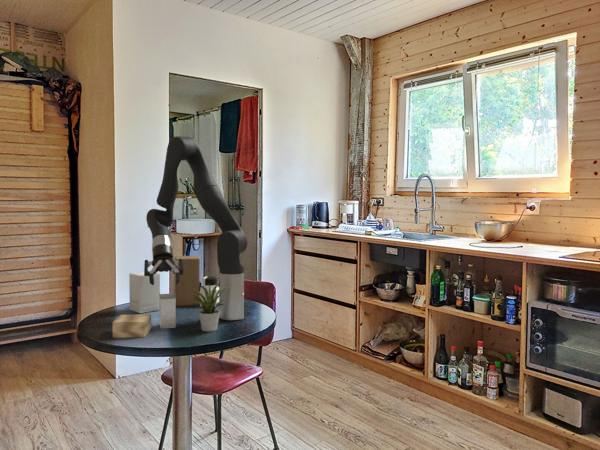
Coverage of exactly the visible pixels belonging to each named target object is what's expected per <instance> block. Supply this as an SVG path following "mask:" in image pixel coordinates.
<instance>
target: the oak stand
mask: <svg viewBox="0 0 600 450" xmlns="http://www.w3.org/2000/svg"><path fill="white" fill-rule="evenodd" d="M151 329H152V314H150V313H149V314H147V313H146V314H145V313H144V314H120V315H119V316H118V317H117V318H115V320H113V321H112V338H115V339H117V338H118V339H119V338H146V337H147V335H148V334H149V332H150V331H151Z"/></svg>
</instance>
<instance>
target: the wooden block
mask: <svg viewBox="0 0 600 450" xmlns="http://www.w3.org/2000/svg"><path fill="white" fill-rule="evenodd" d="M173 259H174V260H175V261H177V260H179V259H182V263H183V268H184V271H183V275H179V279H180V280H179V283H178V284H175V275H174V274H173V275H174V277H173V278H174V282H173V283H174V284H173V285H174V286H173V289H174V292H173V293H174V294H175V295H176V307H186V306H187V307H188V306H200V303H196V302H197V301H196V300H197V299H196V298H195V297H194V295H193V294H192V293H194V294H196V295H197V296H198V297H200V295H199V293H198V292H197V291H199V292H200V290H201V284H200V283H201V280H200V279H201V276H200V274H201V272H200V271H201V270H200V269H201V268H200V267H201V266H200V265H201V261H200V260H201V259H200V257H199V256H198V255H175V256H173ZM174 266H175V267H176V269H177V270H179V266H177V265H176V264H174ZM193 288H194V289H193ZM195 289H196V290H197V291H196V290H195ZM194 301H195V302H194Z"/></svg>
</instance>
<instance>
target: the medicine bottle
mask: <svg viewBox="0 0 600 450" xmlns="http://www.w3.org/2000/svg"><path fill="white" fill-rule="evenodd" d="M208 284H209V285H208ZM217 284H218V278H217V277H216V276H211V275H207V276H204V277H202V286H203V287H205V288H206V289H207V291H208V293H209V286H210V290H211V293H212V290H213V288H214V286H215V285H217ZM218 287H219V286H218V285H217V288H218ZM217 288H216V290H215V291H216V292H215V293H214V294H215V295H214V298H215V297H216V294H217V292H218V290H219V288H218V289H217ZM200 293H201V294H202V295H203V296H204V297H205V298H206V295H205V291H204V290H203V289H202V287H200ZM218 295H219V294H218ZM200 298H201V299H202V297H201V296H200ZM214 298H213V300H214ZM206 300H207V298H206ZM202 301H204V300H203V299H202ZM218 302H219V297H218V299H217V301H216V303H215V304H217V303H218ZM199 306H201V307H202V305H201V304H199ZM215 306H216V305H215ZM215 306H214V307H215Z"/></svg>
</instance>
